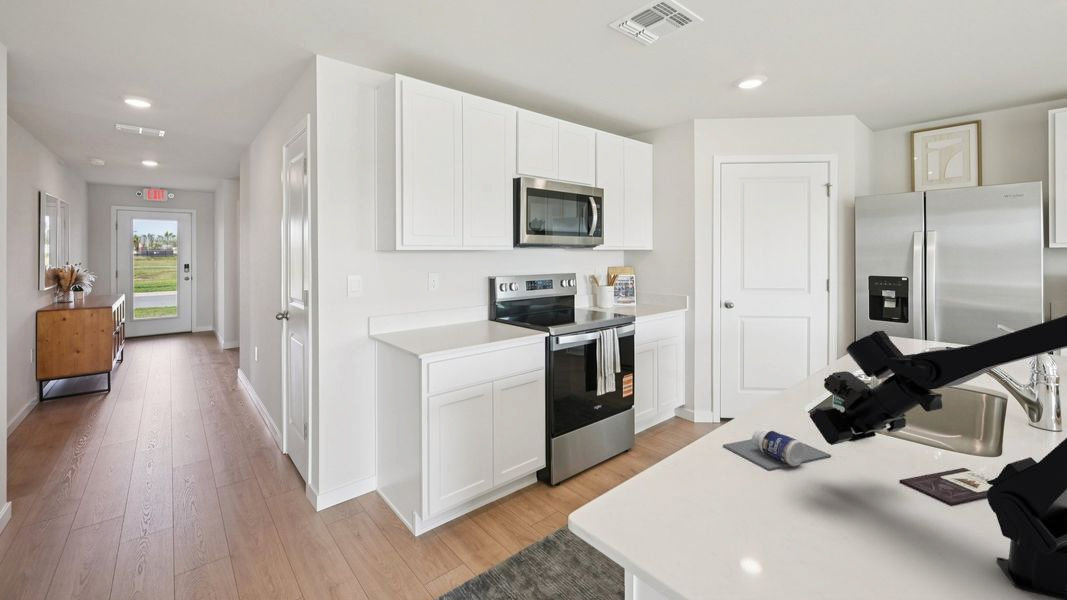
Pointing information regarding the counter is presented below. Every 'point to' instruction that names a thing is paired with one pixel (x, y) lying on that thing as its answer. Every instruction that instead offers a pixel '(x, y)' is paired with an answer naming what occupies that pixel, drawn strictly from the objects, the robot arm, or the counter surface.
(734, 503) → the counter surface
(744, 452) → the mat
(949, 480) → the chocolate bar
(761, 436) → the pill bottle
